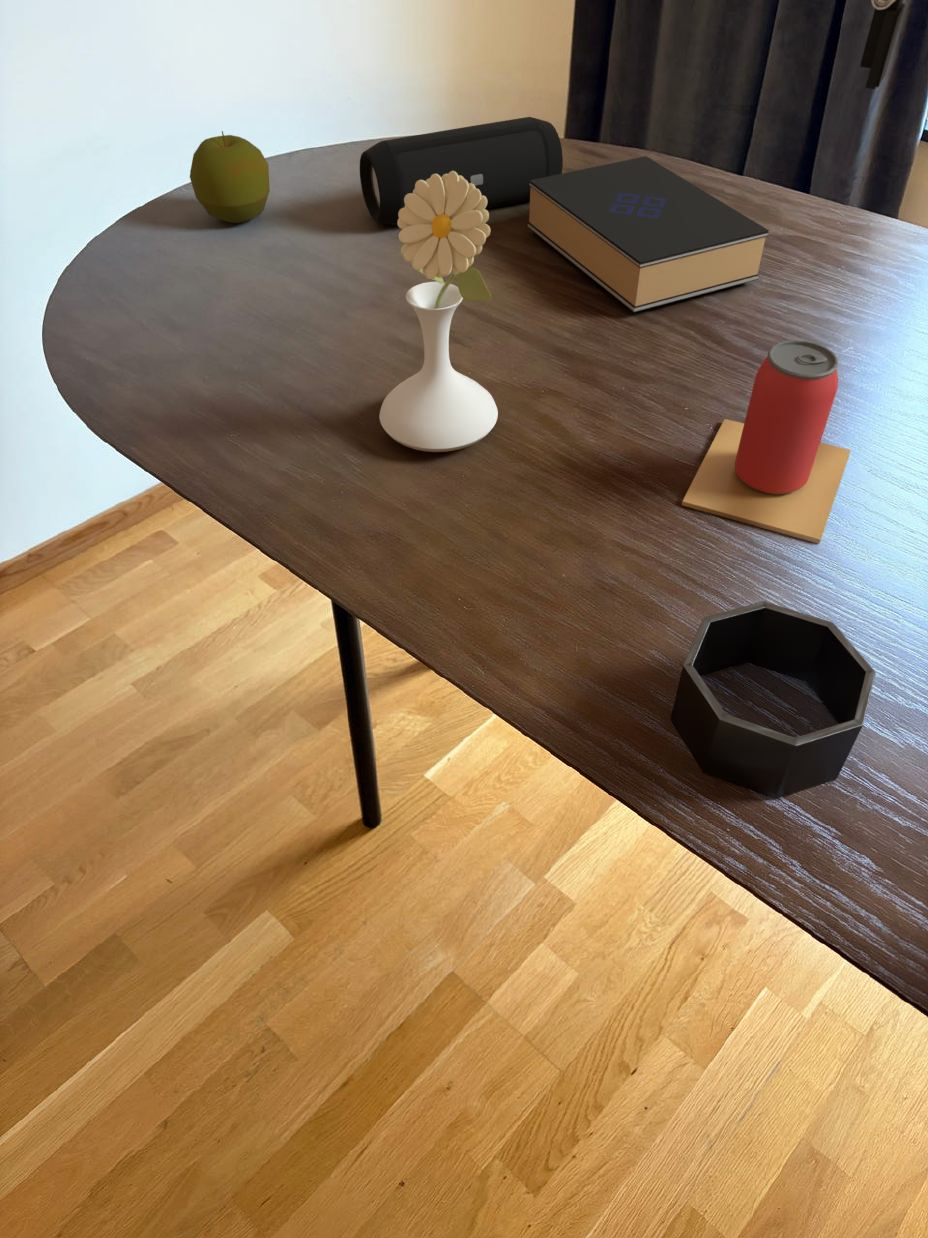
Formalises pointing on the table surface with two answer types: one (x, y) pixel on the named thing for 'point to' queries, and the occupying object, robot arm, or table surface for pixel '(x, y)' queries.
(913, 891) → the table surface
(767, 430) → the beer can
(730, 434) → the cork mat
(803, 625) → the black octagonal pot
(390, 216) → the portable speaker
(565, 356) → the table surface
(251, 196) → the apple
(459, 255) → the flower in vase
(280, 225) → the table surface
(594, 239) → the book
